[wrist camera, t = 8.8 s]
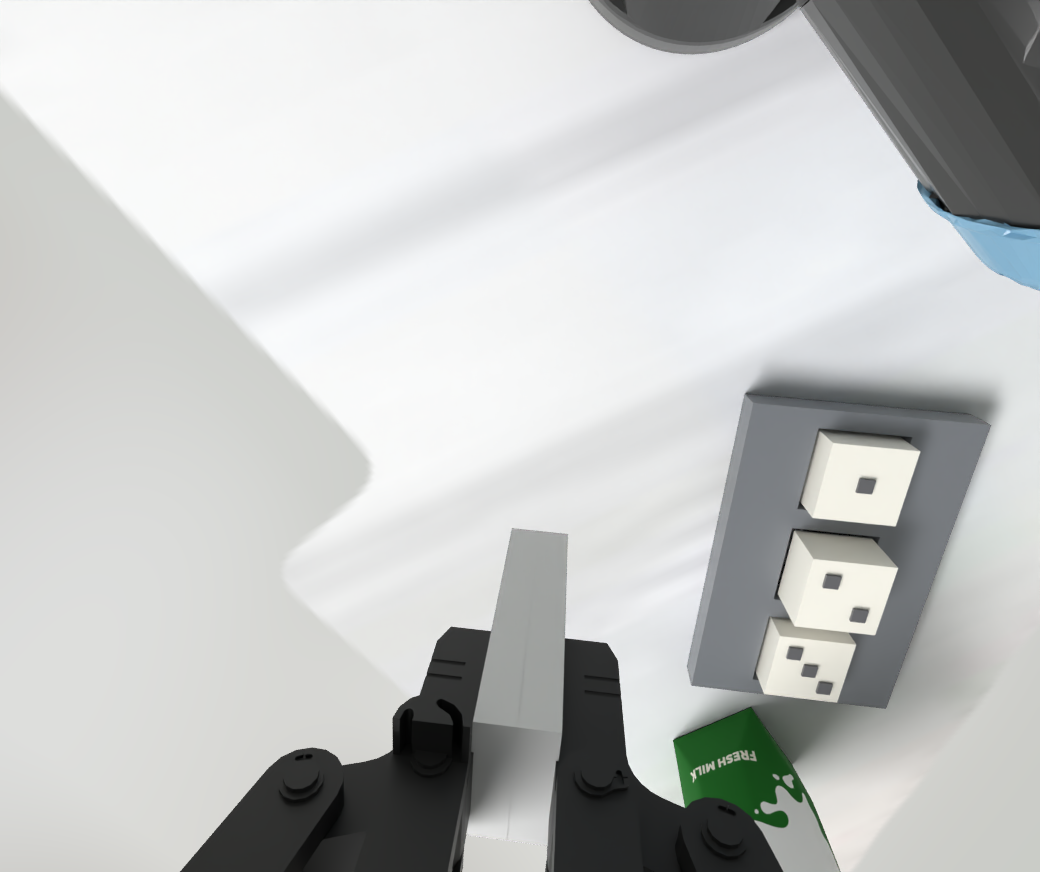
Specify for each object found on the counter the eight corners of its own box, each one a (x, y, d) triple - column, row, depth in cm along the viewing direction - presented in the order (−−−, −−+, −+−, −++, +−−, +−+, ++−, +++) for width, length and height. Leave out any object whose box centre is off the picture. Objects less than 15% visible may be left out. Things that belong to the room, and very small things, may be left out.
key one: (811, 423, 39) (834, 444, 36) (891, 430, 39) (922, 452, 35) (793, 493, 41) (813, 519, 37) (869, 500, 41) (897, 528, 37)
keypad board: (744, 393, 39) (753, 403, 37) (970, 414, 38) (991, 425, 36) (686, 666, 47) (691, 685, 45) (873, 688, 46) (885, 708, 44)
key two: (794, 530, 40) (814, 560, 37) (872, 538, 40) (900, 569, 36) (777, 593, 42) (795, 628, 39) (851, 601, 42) (876, 637, 38)
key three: (765, 604, 44) (781, 638, 41) (835, 612, 44) (857, 646, 40) (750, 659, 46) (765, 696, 42) (818, 667, 46) (838, 704, 42)
